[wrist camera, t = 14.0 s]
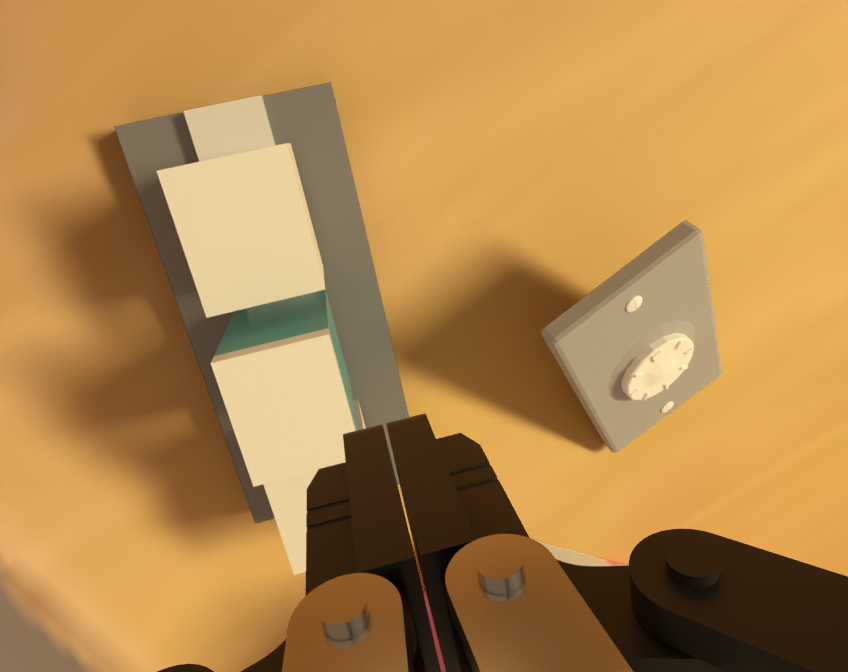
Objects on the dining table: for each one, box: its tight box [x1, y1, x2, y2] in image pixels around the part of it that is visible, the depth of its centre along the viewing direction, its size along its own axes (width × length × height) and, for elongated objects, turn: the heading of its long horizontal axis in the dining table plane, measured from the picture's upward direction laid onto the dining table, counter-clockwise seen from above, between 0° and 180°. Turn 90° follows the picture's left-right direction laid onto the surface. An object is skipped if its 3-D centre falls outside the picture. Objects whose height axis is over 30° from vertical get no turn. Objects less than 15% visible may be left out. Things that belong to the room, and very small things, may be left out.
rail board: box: [114, 82, 409, 575], centre depth 29 cm, size 22×10×7 cm, turn 12°
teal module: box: [211, 289, 358, 487], centre depth 27 cm, size 6×4×8 cm
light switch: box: [541, 220, 722, 453], centre depth 34 cm, size 8×6×14 cm
